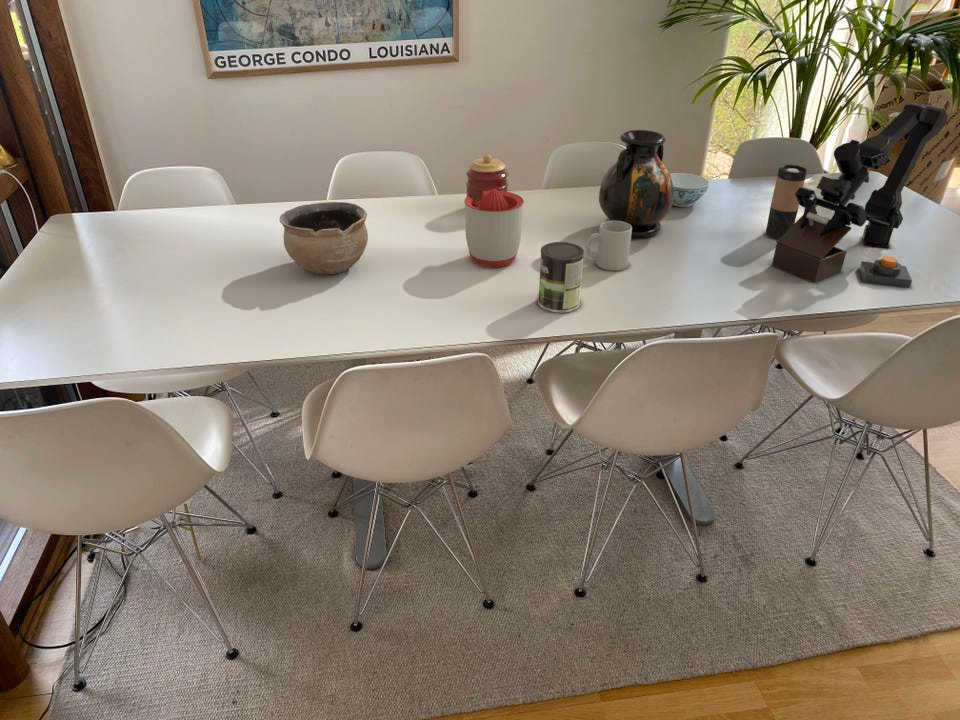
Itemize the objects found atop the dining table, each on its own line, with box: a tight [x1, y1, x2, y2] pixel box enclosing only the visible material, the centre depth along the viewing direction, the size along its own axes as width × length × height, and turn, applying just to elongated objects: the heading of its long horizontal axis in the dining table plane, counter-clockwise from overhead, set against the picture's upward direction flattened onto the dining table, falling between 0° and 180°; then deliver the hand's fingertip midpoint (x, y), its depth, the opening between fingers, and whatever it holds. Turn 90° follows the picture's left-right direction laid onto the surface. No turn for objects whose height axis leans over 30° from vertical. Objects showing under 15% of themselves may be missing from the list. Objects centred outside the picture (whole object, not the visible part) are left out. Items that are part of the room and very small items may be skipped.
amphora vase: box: [598, 129, 674, 239], centre depth 223 cm, size 22×22×28 cm
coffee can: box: [537, 241, 585, 314], centre depth 185 cm, size 10×10×14 cm
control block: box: [859, 258, 913, 289], centre depth 202 cm, size 11×9×4 cm
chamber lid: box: [776, 212, 852, 260], centre depth 201 cm, size 12×13×5 cm
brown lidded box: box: [771, 242, 848, 284], centre depth 206 cm, size 11×13×6 cm
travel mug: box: [765, 164, 808, 240], centre depth 223 cm, size 8×8×20 cm
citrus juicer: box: [463, 189, 525, 269], centre depth 206 cm, size 16×17×20 cm
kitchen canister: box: [465, 153, 509, 203], centre depth 239 cm, size 13×13×18 cm
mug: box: [586, 220, 632, 272], centre depth 206 cm, size 12×8×11 cm
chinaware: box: [670, 172, 710, 208], centre depth 248 cm, size 15×15×8 cm
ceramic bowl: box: [278, 201, 369, 275], centre depth 202 cm, size 22×22×15 cm
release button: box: [880, 255, 898, 268], centre depth 201 cm, size 4×4×2 cm
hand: (810, 231), depth 201 cm, fingers closed on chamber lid, 6 cm apart
